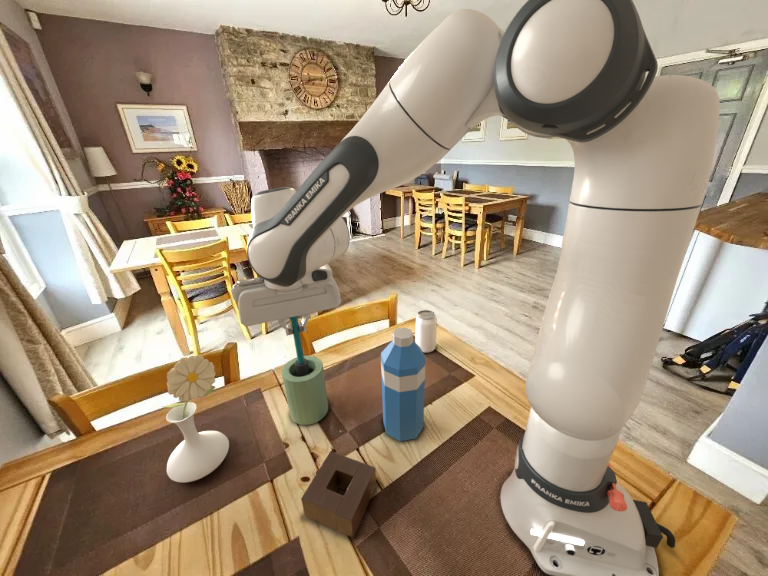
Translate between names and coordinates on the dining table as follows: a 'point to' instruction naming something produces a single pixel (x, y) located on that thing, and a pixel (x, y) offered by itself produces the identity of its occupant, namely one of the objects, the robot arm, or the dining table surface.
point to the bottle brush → (299, 350)
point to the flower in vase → (197, 448)
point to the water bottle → (403, 386)
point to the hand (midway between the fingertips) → (296, 332)
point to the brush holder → (333, 506)
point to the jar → (305, 391)
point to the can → (426, 330)
